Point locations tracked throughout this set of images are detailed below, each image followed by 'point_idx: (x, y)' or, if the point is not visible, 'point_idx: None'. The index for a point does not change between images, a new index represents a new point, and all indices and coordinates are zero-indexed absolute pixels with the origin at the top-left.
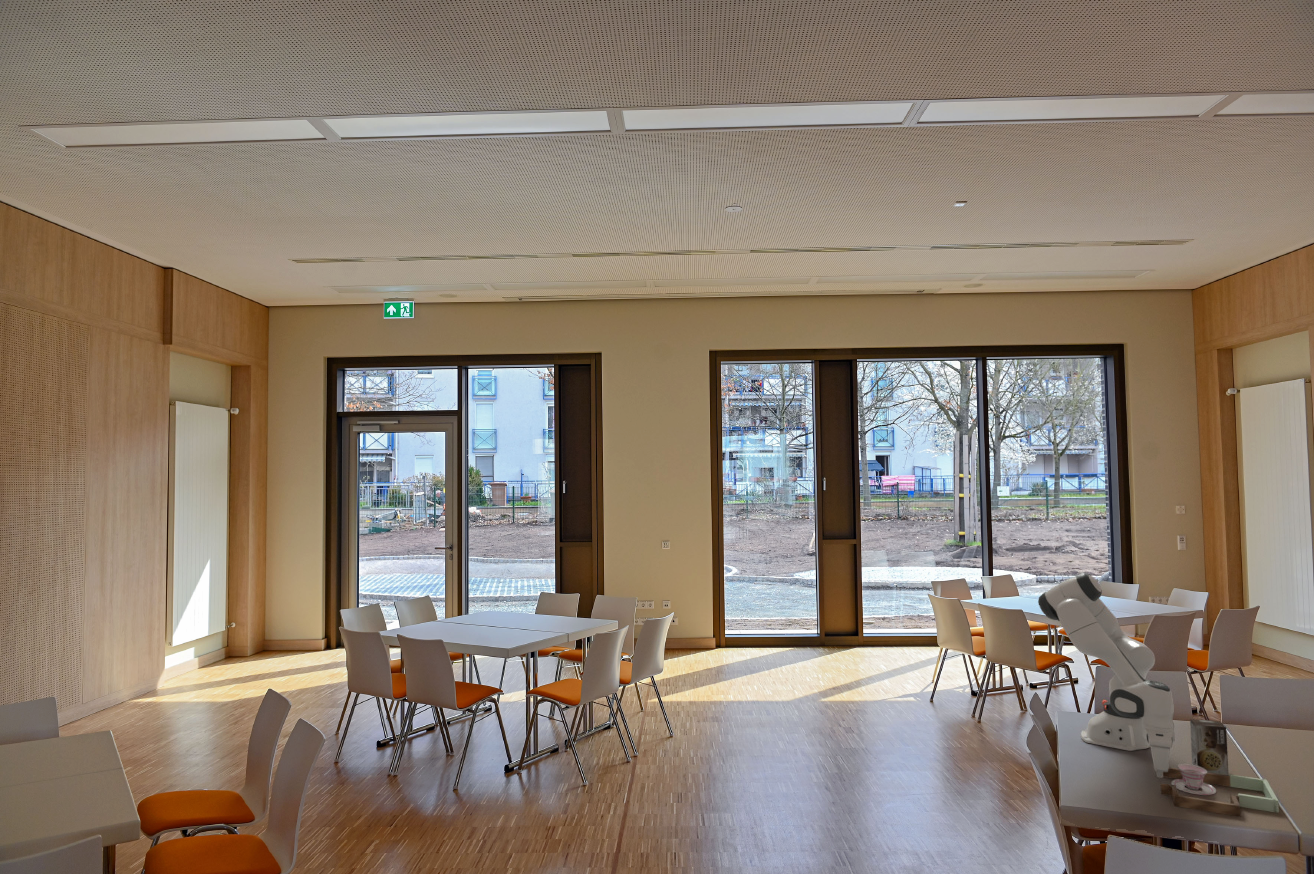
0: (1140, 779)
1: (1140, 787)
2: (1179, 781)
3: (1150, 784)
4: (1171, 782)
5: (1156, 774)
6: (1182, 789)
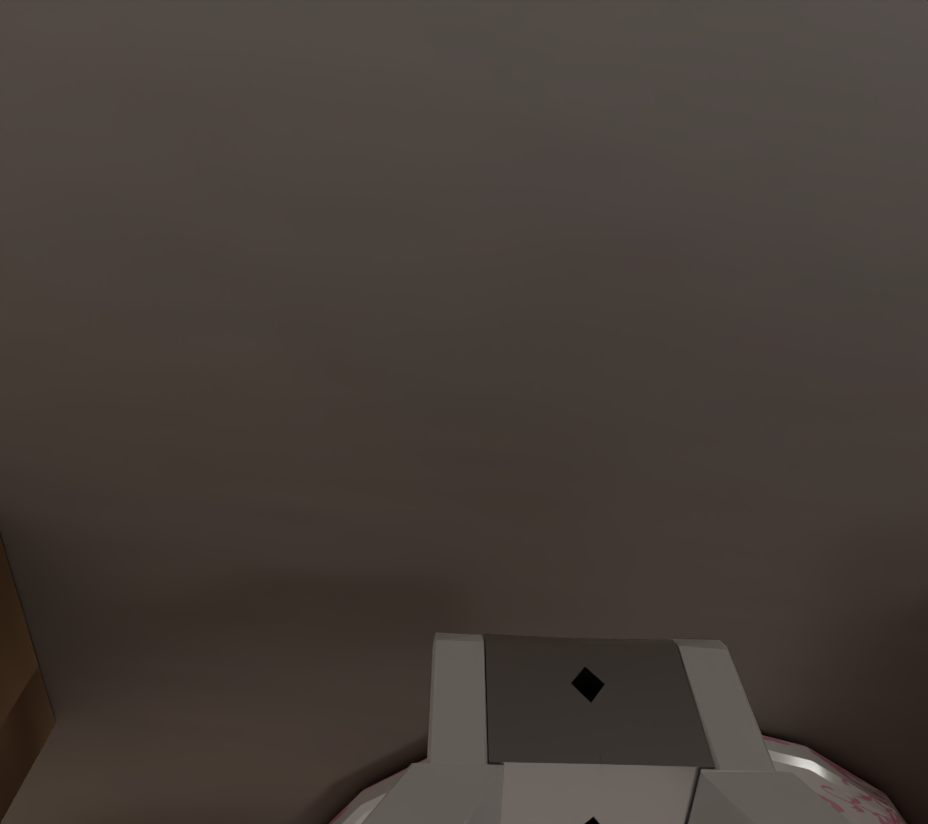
0: (735, 123)
1: (35, 67)
2: None
3: (433, 345)
4: None
5: (511, 652)
6: None
